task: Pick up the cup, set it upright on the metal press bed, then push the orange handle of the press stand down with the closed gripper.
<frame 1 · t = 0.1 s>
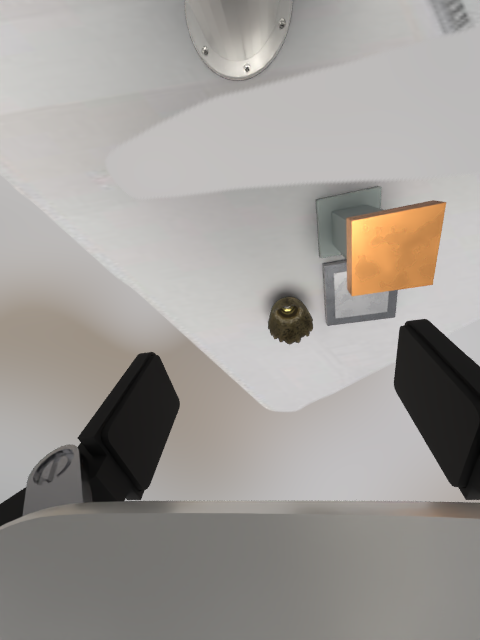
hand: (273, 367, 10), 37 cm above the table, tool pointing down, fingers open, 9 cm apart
press stand: (346, 223, 41), on the table
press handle: (372, 240, 30), point 12 cm above the table, slide at 0.0 cm
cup: (287, 304, 49), on the table
press bed: (358, 289, 46), on the table
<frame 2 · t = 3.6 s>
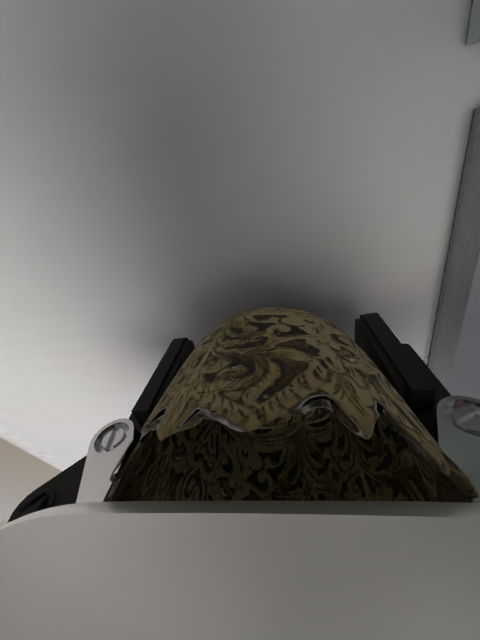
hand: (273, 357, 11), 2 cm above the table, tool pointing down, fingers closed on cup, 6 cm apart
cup: (272, 332, 12), on the table, touching gripper
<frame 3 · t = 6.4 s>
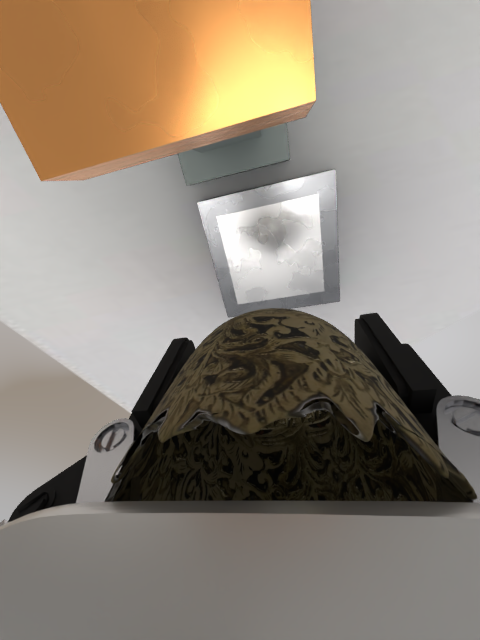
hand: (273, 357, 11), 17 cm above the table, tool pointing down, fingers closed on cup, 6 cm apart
press stand: (226, 110, 20), on the table
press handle: (182, 43, 10), point 12 cm above the table, slide at 0.0 cm
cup: (272, 333, 12), point 16 cm above the table, touching gripper
press bed: (273, 251, 26), on the table
when the fingers open (4 cm above the table, at t = 9.4 s): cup stays where it is, resting on press bed.
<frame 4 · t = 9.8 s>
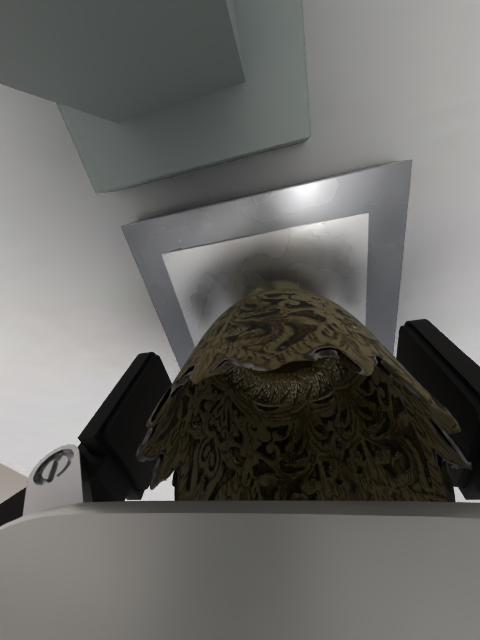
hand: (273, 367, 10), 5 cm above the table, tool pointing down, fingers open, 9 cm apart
press stand: (168, 26, 9), on the table
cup: (279, 318, 13), point 2 cm above the table, touching press bed
press bed: (272, 308, 14), on the table
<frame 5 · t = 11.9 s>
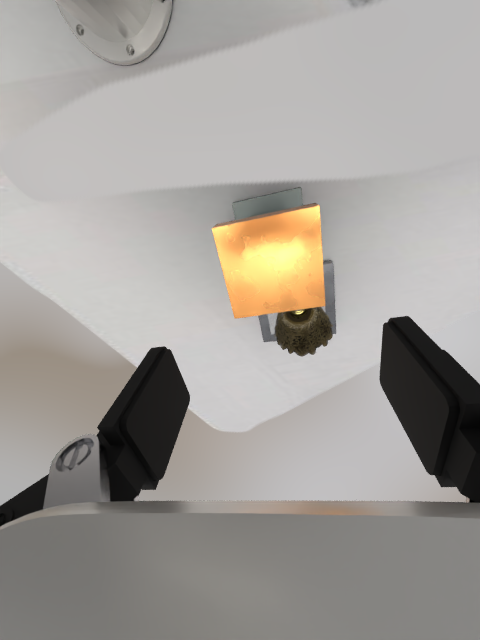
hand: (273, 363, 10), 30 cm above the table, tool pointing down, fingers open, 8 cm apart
press stand: (270, 229, 36), on the table
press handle: (271, 250, 26), point 12 cm above the table, slide at 0.0 cm
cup: (297, 305, 40), point 2 cm above the table, touching press bed
press bed: (294, 302, 41), on the table
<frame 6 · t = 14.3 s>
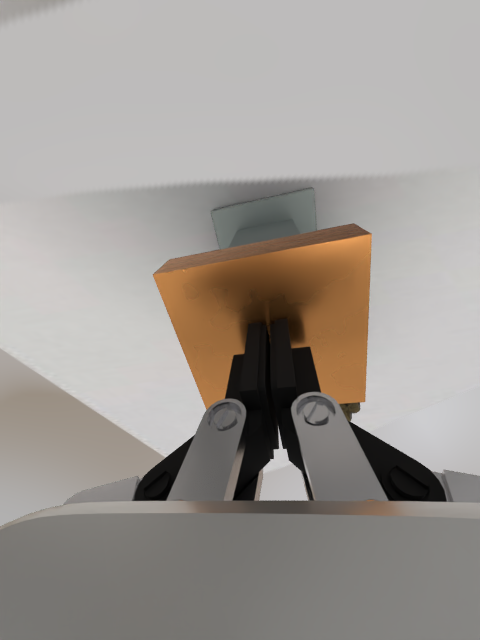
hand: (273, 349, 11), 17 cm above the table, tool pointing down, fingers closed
press stand: (268, 247, 25), on the table
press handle: (269, 290, 16), point 10 cm above the table, slide at 1.5 cm, touching gripper
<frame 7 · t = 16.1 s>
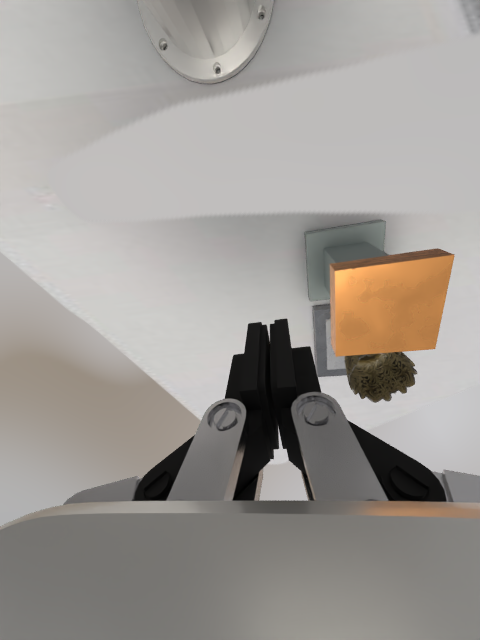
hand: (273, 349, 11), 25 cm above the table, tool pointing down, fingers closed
press stand: (341, 261, 33), on the table
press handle: (363, 285, 25), point 9 cm above the table, slide at 3.0 cm
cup: (360, 341, 37), point 2 cm above the table, touching press bed
press bed: (355, 337, 38), on the table
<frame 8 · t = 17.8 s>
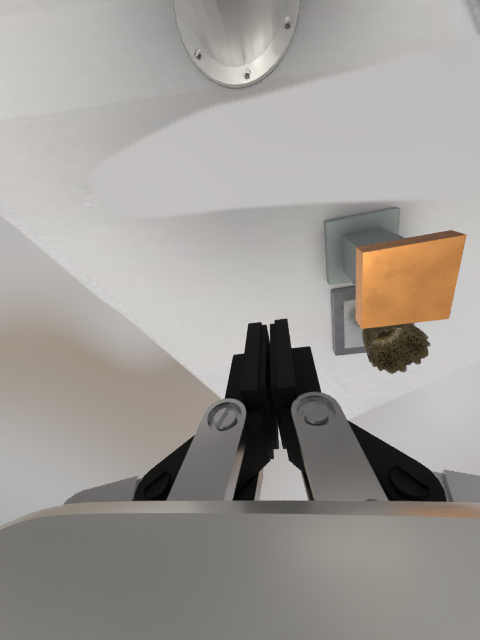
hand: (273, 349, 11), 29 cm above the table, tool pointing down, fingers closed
press stand: (358, 247, 36), on the table
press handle: (382, 266, 29), point 9 cm above the table, slide at 3.0 cm
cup: (376, 320, 40), point 2 cm above the table, touching press bed
press bed: (370, 317, 42), on the table
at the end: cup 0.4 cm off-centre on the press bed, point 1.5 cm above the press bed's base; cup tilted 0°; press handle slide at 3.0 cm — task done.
